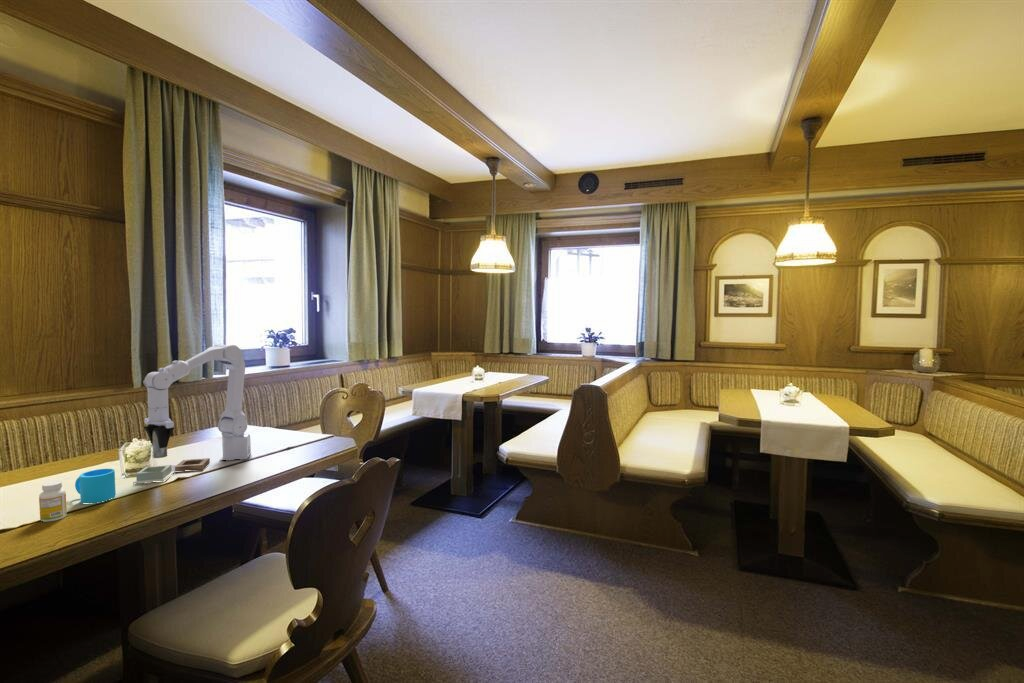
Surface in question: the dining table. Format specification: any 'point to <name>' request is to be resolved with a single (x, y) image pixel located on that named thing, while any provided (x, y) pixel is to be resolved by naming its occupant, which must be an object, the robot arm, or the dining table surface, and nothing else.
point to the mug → (96, 485)
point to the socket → (192, 464)
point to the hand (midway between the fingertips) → (159, 446)
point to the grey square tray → (153, 474)
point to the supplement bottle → (52, 502)
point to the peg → (156, 450)
